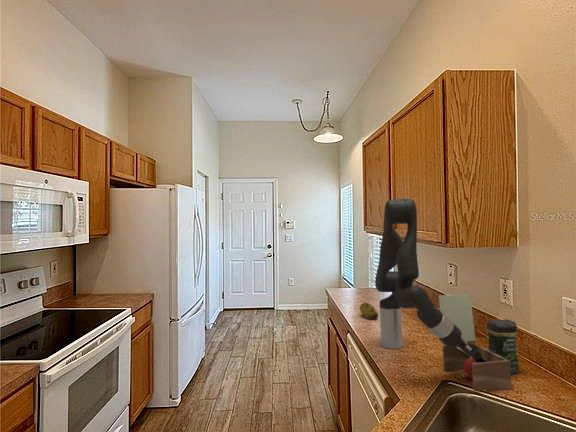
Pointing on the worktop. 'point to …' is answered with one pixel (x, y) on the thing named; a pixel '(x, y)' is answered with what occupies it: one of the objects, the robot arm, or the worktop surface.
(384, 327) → the robot arm
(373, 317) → the avocado
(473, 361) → the onion
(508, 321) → the coffee jar
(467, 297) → the lid
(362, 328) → the worktop surface
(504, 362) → the cubby
